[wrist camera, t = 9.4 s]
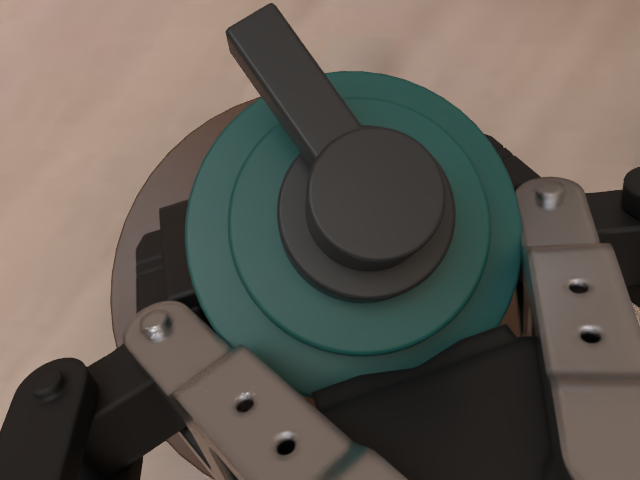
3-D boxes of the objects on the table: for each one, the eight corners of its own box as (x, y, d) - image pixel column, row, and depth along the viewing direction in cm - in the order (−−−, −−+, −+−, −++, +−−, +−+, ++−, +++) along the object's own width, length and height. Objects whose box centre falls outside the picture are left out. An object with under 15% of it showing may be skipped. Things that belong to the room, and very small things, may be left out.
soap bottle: (600, 341, 22) (1185, 349, 8) (265, 593, 20) (191, 1248, 6) (371, 30, 24) (490, -449, 9) (41, 234, 22) (-457, 29, 7)
